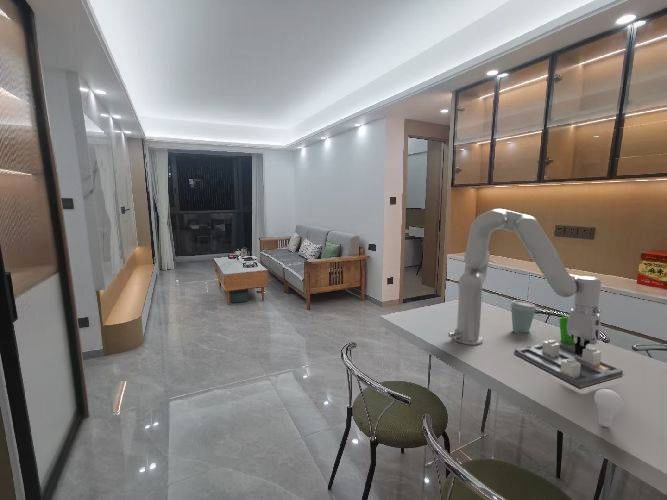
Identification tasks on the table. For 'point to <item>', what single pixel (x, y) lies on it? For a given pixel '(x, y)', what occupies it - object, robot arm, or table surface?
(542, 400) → the table surface
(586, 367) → the switch board
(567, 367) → the white stepped block
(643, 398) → the table surface
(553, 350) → the white stepped block
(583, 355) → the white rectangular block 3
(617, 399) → the lightbulb
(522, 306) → the disposable coffee cup
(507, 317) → the table surface
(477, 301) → the robot arm
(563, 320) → the cup
